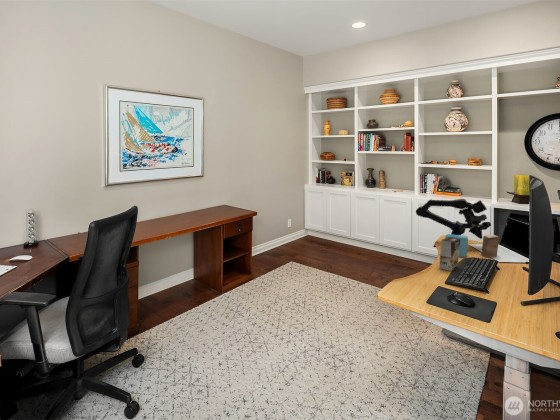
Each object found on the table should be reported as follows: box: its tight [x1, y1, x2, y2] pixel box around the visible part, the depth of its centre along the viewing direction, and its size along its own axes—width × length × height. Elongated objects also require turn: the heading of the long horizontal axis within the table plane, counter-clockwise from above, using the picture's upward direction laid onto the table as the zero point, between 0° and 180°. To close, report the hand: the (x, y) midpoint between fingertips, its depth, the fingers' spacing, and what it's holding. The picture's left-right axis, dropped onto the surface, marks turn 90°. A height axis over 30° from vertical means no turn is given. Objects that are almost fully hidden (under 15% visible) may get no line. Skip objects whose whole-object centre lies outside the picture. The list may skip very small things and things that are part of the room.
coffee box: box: [438, 237, 460, 272], centre depth 183 cm, size 9×6×16 cm
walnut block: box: [481, 234, 500, 258], centre depth 200 cm, size 4×7×12 cm, turn 101°
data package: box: [444, 233, 469, 258], centre depth 203 cm, size 12×4×12 cm, turn 64°
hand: (481, 238), depth 207 cm, fingers closed
